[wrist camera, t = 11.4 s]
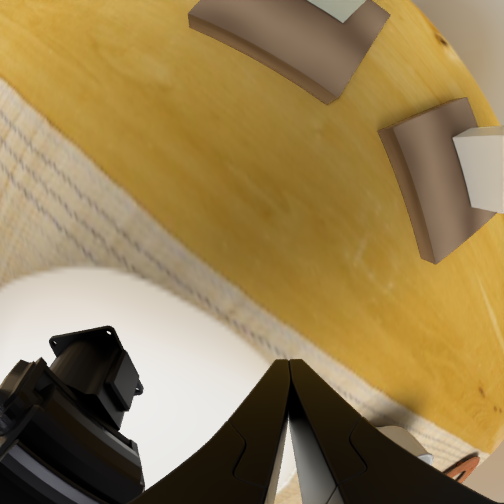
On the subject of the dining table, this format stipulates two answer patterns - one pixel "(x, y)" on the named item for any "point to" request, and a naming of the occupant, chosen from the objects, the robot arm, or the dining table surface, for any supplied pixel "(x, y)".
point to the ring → (464, 468)
